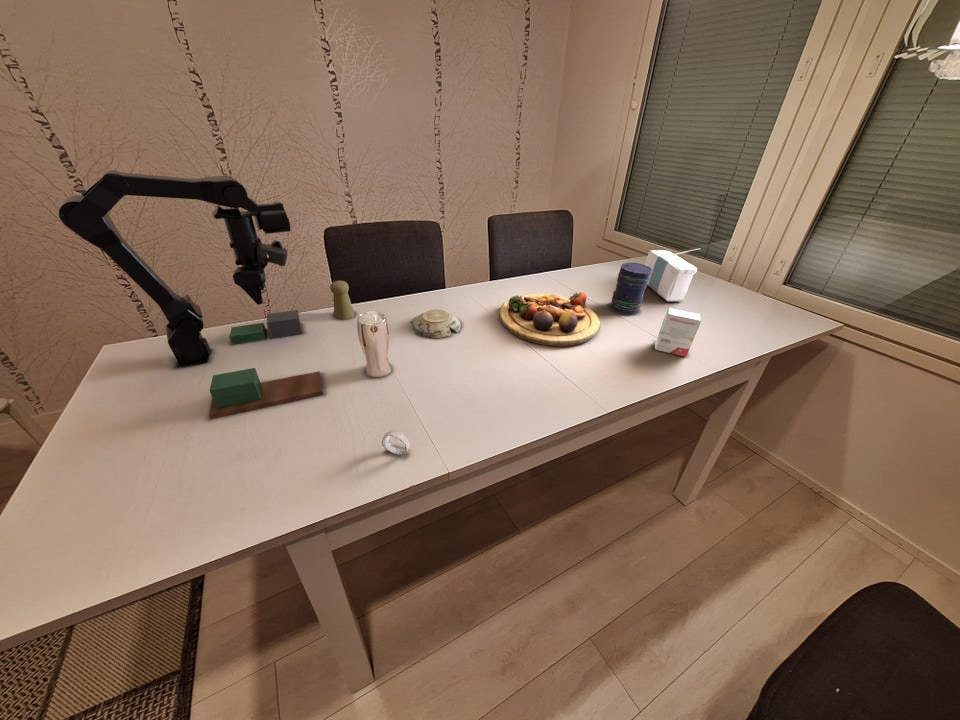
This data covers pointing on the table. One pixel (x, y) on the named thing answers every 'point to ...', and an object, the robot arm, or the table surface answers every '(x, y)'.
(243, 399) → the green book
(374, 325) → the beer glass
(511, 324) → the wooden plate
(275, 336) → the grey book
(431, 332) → the decorative bowl
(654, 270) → the radio
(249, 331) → the green rectangular block
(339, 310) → the olive green pawn
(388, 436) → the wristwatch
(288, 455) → the table surface
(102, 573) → the table surface
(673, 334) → the ink box
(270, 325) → the grey book
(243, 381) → the green book
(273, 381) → the shelf board
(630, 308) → the storage jar
